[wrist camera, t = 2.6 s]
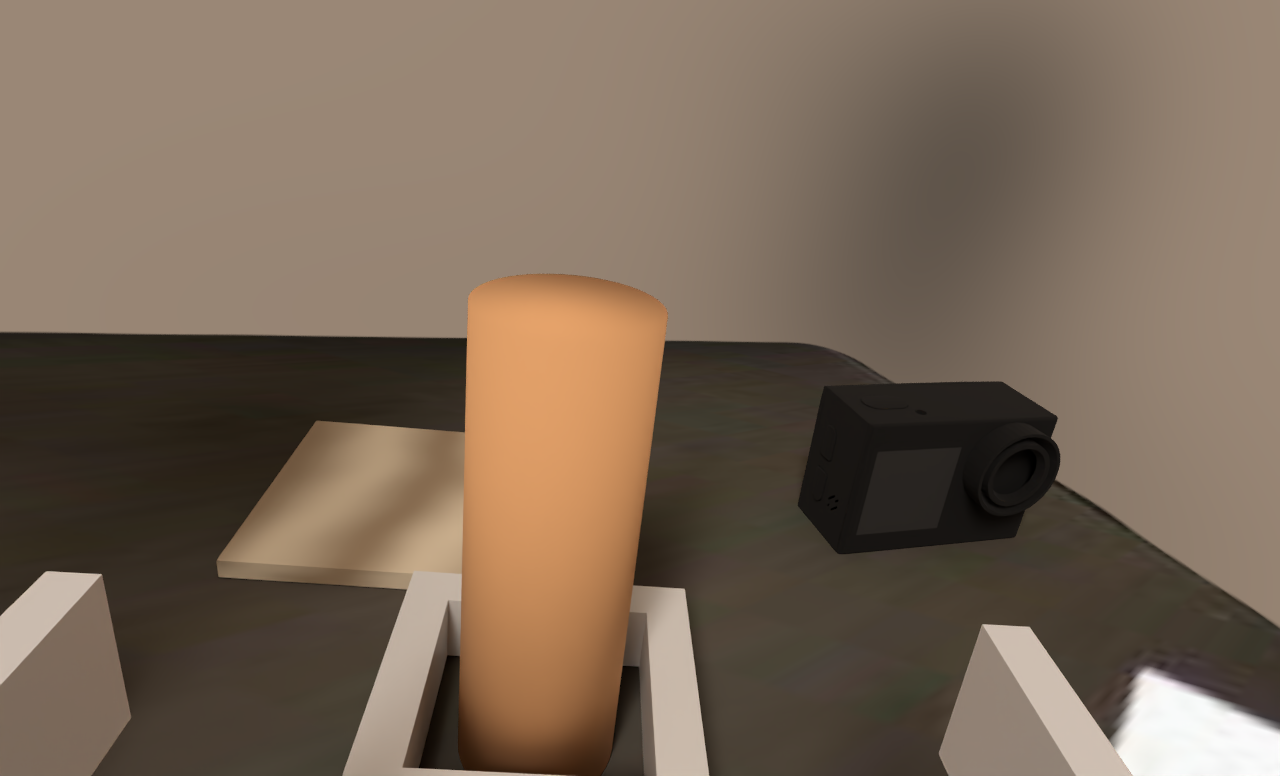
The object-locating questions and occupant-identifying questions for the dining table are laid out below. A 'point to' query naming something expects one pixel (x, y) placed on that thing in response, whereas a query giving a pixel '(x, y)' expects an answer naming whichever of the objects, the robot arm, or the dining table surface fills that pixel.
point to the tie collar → (431, 631)
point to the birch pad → (357, 510)
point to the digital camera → (925, 464)
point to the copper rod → (552, 515)
